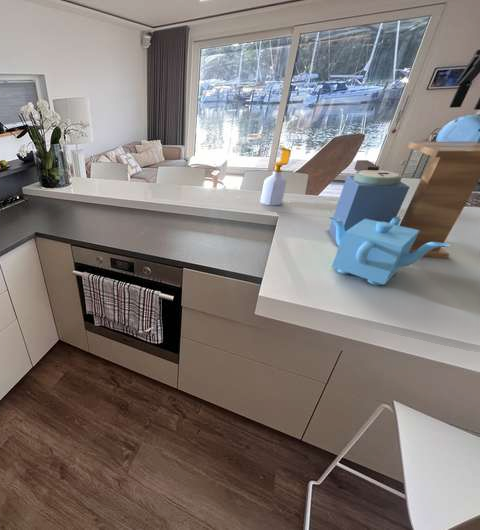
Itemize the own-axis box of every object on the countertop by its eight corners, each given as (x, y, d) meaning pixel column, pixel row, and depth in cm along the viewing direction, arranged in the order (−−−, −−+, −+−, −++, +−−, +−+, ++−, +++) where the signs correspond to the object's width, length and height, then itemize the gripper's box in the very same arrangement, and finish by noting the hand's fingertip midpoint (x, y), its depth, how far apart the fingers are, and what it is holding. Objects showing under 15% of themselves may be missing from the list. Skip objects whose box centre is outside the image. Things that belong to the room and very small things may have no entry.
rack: (371, 233, 101) (409, 142, 86) (421, 237, 96) (471, 141, 81) (389, 254, 88) (438, 151, 73) (448, 259, 83) (514, 150, 68)
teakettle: (345, 289, 74) (366, 238, 67) (313, 255, 90) (328, 210, 83) (428, 292, 71) (460, 239, 64) (381, 256, 87) (402, 210, 80)
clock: (340, 168, 102) (343, 160, 101) (378, 169, 99) (382, 160, 97) (359, 184, 85) (363, 174, 84) (406, 186, 81) (411, 175, 80)
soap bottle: (255, 201, 136) (266, 146, 124) (271, 198, 139) (283, 144, 126) (269, 207, 129) (281, 149, 117) (286, 204, 131) (299, 146, 119)
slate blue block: (328, 231, 104) (347, 175, 94) (368, 234, 100) (392, 176, 90) (336, 245, 95) (358, 185, 85) (381, 249, 91) (409, 186, 81)
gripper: (463, 34, 95) (432, 107, 106) (521, 20, 76) (475, 111, 86) (494, 31, 93) (459, 105, 104) (562, 15, 73) (510, 109, 84)
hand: (466, 108), depth 95 cm, fingers open, 13 cm apart
